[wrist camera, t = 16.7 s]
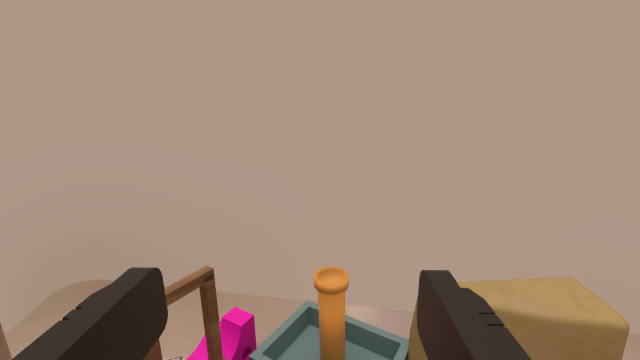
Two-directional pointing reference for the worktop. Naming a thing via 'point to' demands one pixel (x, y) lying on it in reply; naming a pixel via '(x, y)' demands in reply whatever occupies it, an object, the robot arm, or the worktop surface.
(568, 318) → the cheese
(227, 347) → the toy block
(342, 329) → the pin
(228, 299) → the worktop surface
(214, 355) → the trolley
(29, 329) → the worktop surface
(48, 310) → the worktop surface
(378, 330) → the tray
